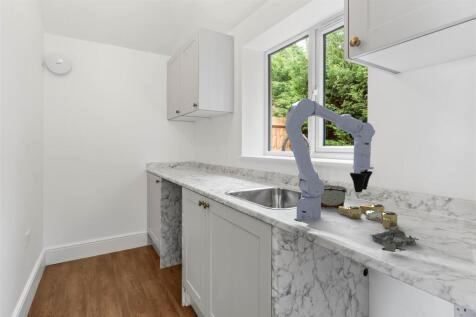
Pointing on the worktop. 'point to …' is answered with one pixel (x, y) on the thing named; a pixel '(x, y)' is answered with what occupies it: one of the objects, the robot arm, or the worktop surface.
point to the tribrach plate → (373, 215)
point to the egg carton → (390, 240)
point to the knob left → (350, 212)
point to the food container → (333, 196)
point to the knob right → (389, 219)
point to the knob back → (372, 208)
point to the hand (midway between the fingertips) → (360, 190)
